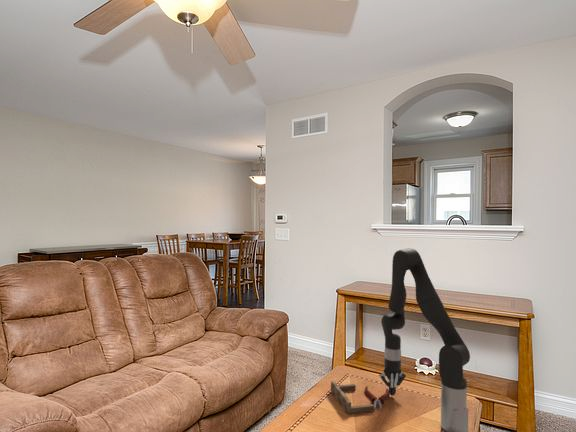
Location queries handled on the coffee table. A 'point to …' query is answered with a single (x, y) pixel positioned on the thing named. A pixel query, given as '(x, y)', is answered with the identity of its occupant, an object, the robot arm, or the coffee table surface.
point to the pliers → (374, 399)
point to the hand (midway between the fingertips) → (392, 394)
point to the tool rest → (345, 402)
